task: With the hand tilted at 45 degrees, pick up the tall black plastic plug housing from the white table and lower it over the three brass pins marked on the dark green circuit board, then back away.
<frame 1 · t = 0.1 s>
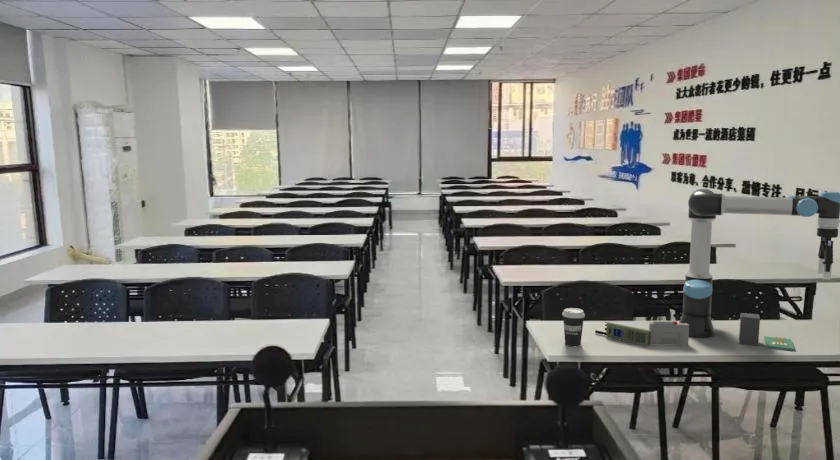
hand: (823, 276, 259), 28 cm above the table, tool pointing down, fingers open, 13 cm apart
handheld radio: (621, 340, 264), on the table
coffee cup: (572, 344, 258), on the table
header board: (778, 344, 255), on the table
cassette player: (668, 344, 258), on the table
plug housing: (748, 342, 258), on the table
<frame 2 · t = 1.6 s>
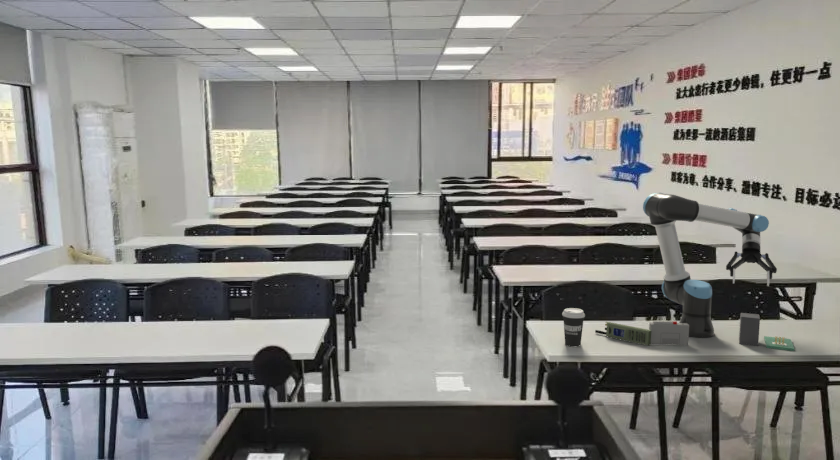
hand: (750, 283, 269), 23 cm above the table, tool tilted 45°, fingers open, 13 cm apart
nothing on the table moved.
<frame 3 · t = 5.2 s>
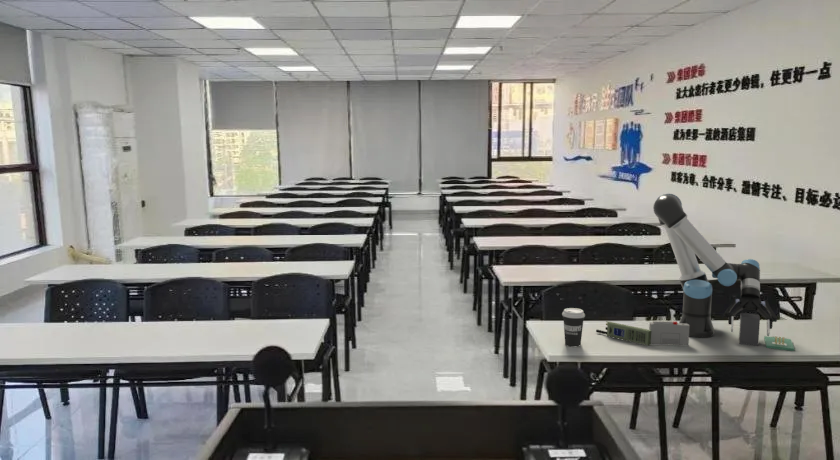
hand: (749, 332, 256), 5 cm above the table, tool tilted 45°, fingers open, 13 cm apart
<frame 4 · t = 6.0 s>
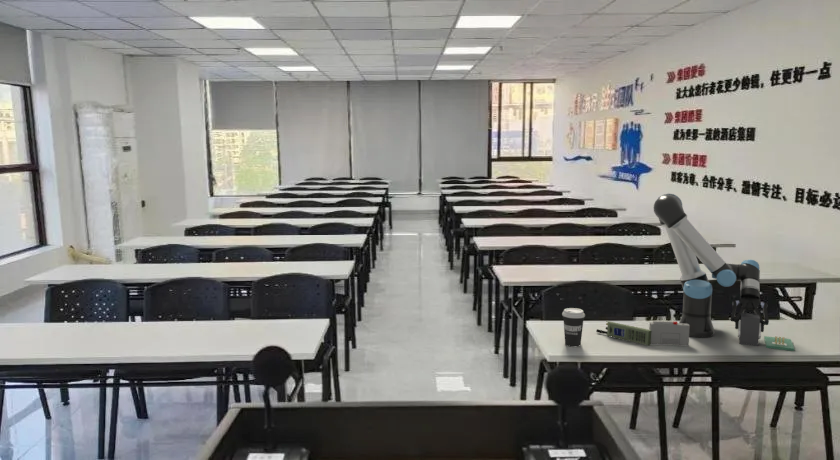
hand: (749, 336, 255), 4 cm above the table, tool tilted 45°, fingers closed on plug housing, 7 cm apart
plug housing: (748, 342, 258), on the table, touching gripper
everything else where it was.
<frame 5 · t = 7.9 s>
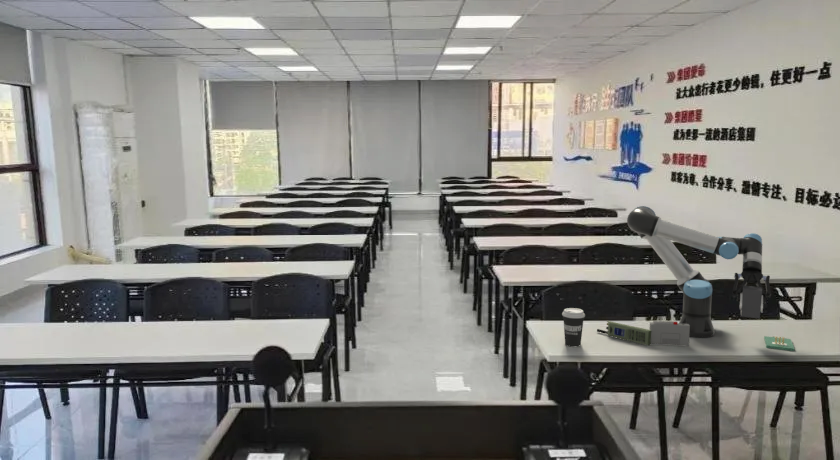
hand: (751, 308, 253), 16 cm above the table, tool tilted 45°, fingers closed on plug housing, 7 cm apart
plug housing: (750, 315, 257), point 12 cm above the table, touching gripper
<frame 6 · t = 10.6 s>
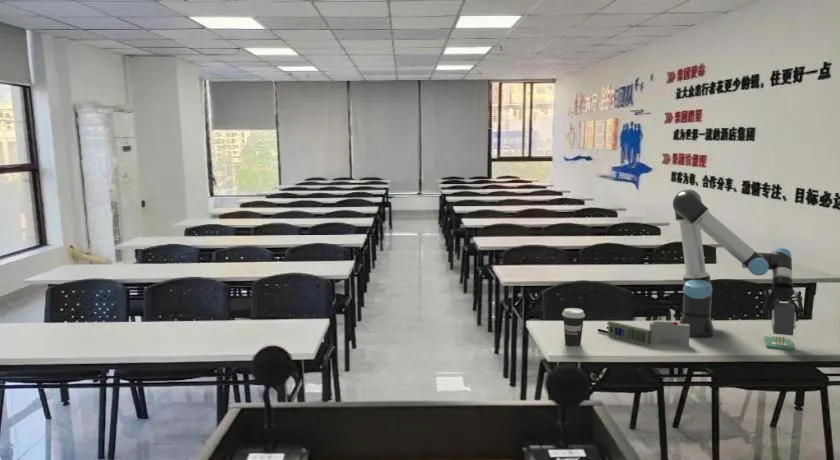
hand: (783, 326, 248), 10 cm above the table, tool tilted 45°, fingers closed on plug housing, 7 cm apart
plug housing: (782, 332, 252), point 6 cm above the table, touching gripper
when the fingers open (5 cm above the table, at t = 12.1 s): plug housing stays where it is, resting on header board.
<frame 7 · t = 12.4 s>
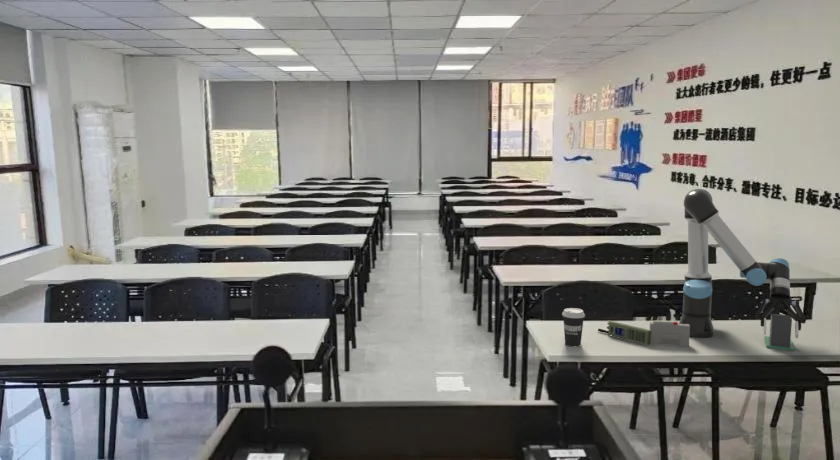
hand: (780, 334, 250), 6 cm above the table, tool tilted 45°, fingers open, 11 cm apart
handheld radio: (623, 339, 266), on the table, touching cassette player
cassette player: (668, 344, 257), on the table, touching handheld radio
plug housing: (779, 343, 253), point 1 cm above the table, touching header board
everything else where it was.
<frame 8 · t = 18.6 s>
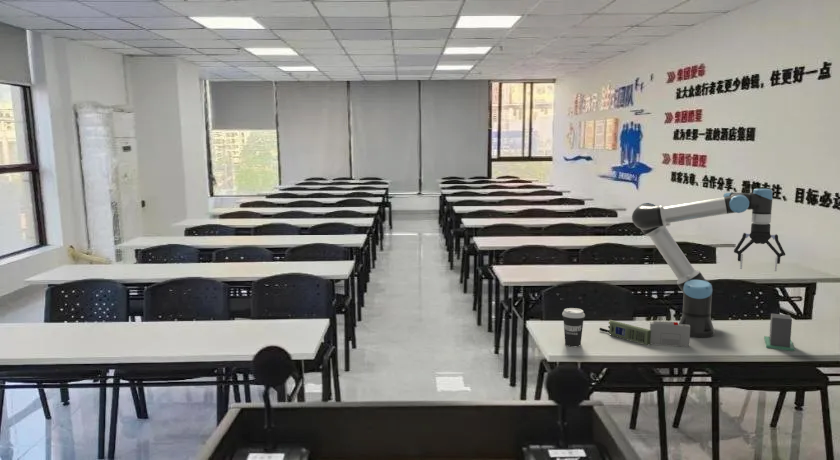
hand: (757, 269, 271), 29 cm above the table, tool pointing down, fingers open, 13 cm apart
handheld radio: (623, 338, 266), on the table
cassette player: (668, 345, 257), on the table
everything else where it was.
at the end: plug housing 0.0 cm from the target spot on the header board, point 1.0 cm above the header board's base; plug housing tilted 0°; the gripper is holding nothing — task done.
